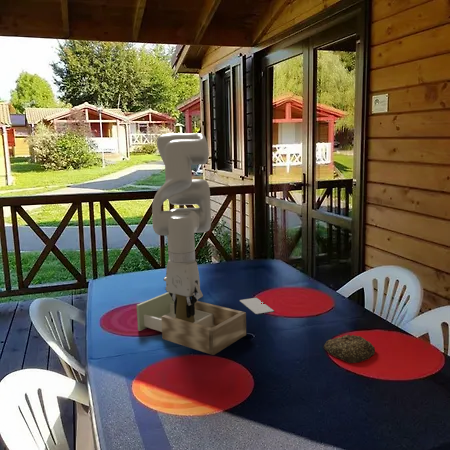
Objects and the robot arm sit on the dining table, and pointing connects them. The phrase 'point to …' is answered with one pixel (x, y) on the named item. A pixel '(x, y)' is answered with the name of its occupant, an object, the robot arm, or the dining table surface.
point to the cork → (182, 309)
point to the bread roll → (350, 348)
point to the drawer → (165, 313)
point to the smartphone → (256, 306)
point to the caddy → (206, 329)
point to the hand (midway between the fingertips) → (184, 314)
